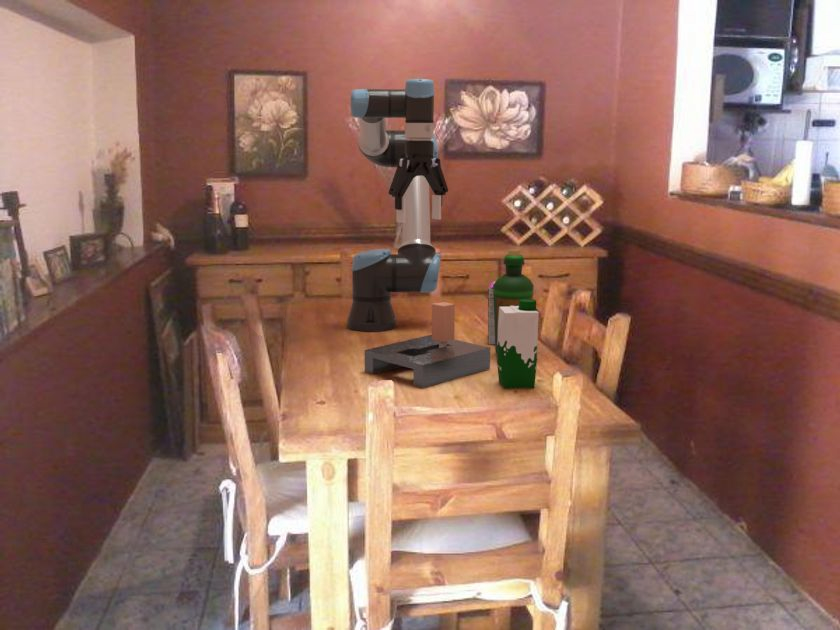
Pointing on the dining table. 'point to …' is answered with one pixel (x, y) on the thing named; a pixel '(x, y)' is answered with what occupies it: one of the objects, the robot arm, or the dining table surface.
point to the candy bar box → (491, 315)
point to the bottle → (511, 286)
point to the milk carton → (517, 344)
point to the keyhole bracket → (429, 359)
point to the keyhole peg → (443, 322)
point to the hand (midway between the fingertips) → (419, 220)
